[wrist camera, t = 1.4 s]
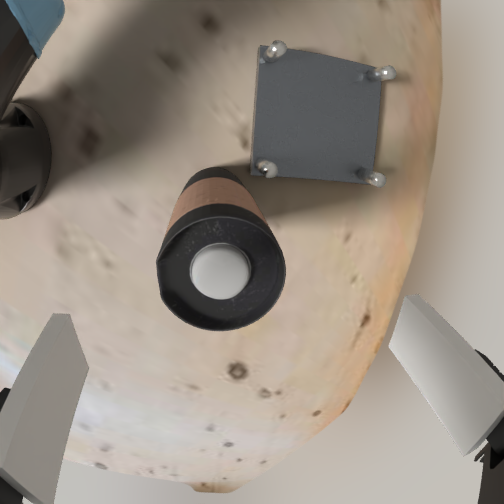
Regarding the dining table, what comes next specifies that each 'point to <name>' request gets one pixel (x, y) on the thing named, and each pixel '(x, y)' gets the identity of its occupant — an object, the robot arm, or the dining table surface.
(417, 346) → the robot arm
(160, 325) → the dining table surface
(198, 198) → the travel mug
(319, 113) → the stand
